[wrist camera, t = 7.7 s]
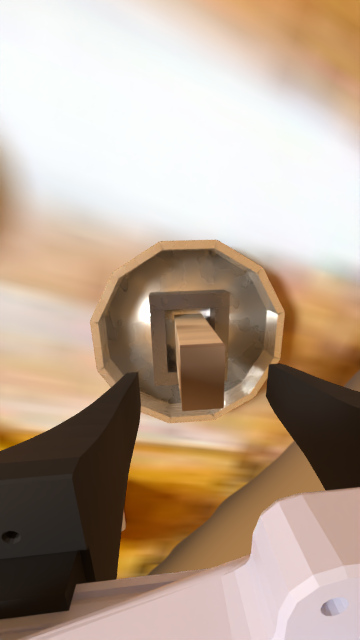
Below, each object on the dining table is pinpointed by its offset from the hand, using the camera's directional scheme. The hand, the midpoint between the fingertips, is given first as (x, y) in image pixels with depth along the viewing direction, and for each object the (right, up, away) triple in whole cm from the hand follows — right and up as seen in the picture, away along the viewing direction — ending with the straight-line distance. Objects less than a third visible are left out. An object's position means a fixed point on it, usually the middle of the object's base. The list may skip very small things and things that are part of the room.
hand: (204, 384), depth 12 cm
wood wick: (-1, +2, +8) cm, 9 cm away
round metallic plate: (-1, +2, +9) cm, 9 cm away
